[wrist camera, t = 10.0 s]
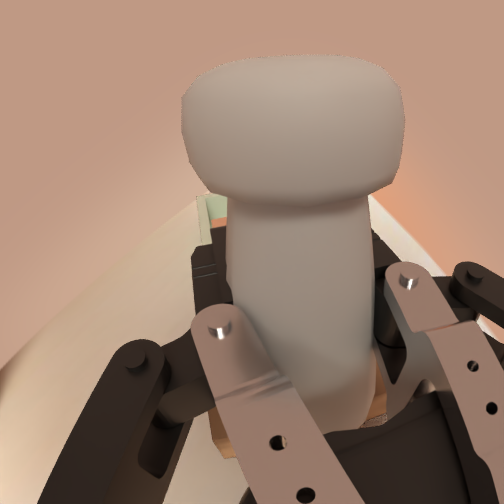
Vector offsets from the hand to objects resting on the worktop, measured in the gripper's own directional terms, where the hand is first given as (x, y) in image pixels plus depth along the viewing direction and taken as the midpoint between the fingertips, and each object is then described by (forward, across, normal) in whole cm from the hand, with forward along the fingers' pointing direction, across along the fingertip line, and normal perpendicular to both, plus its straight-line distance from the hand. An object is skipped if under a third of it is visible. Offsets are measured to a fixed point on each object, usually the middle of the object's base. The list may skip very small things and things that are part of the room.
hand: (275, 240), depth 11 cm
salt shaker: (-3, 0, +7) cm, 8 cm away
